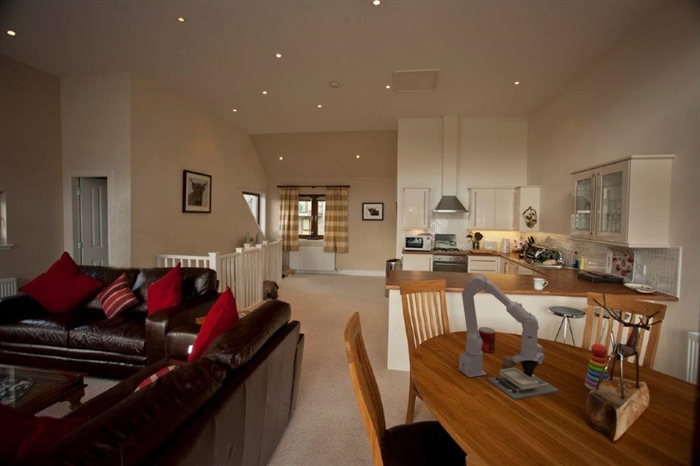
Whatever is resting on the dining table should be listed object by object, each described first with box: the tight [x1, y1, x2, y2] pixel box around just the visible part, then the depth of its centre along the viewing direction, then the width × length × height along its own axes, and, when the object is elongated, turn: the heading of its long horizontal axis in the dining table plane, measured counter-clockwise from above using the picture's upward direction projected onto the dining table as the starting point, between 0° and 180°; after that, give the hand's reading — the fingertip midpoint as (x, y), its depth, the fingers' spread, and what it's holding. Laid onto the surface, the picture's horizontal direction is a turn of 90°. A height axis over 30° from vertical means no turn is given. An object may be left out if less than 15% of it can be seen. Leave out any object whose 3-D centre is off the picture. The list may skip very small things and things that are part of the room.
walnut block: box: [502, 354, 518, 369], centre depth 139 cm, size 4×4×6 cm
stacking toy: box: [584, 343, 610, 391], centre depth 124 cm, size 8×8×19 cm
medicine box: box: [537, 342, 544, 365], centre depth 149 cm, size 8×4×9 cm, turn 179°
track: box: [486, 371, 560, 401], centre depth 126 cm, size 22×15×2 cm
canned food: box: [478, 326, 496, 354], centre depth 160 cm, size 8×8×11 cm
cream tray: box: [498, 367, 539, 389], centre depth 125 cm, size 8×12×3 cm, turn 16°
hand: (527, 376), depth 127 cm, fingers closed
